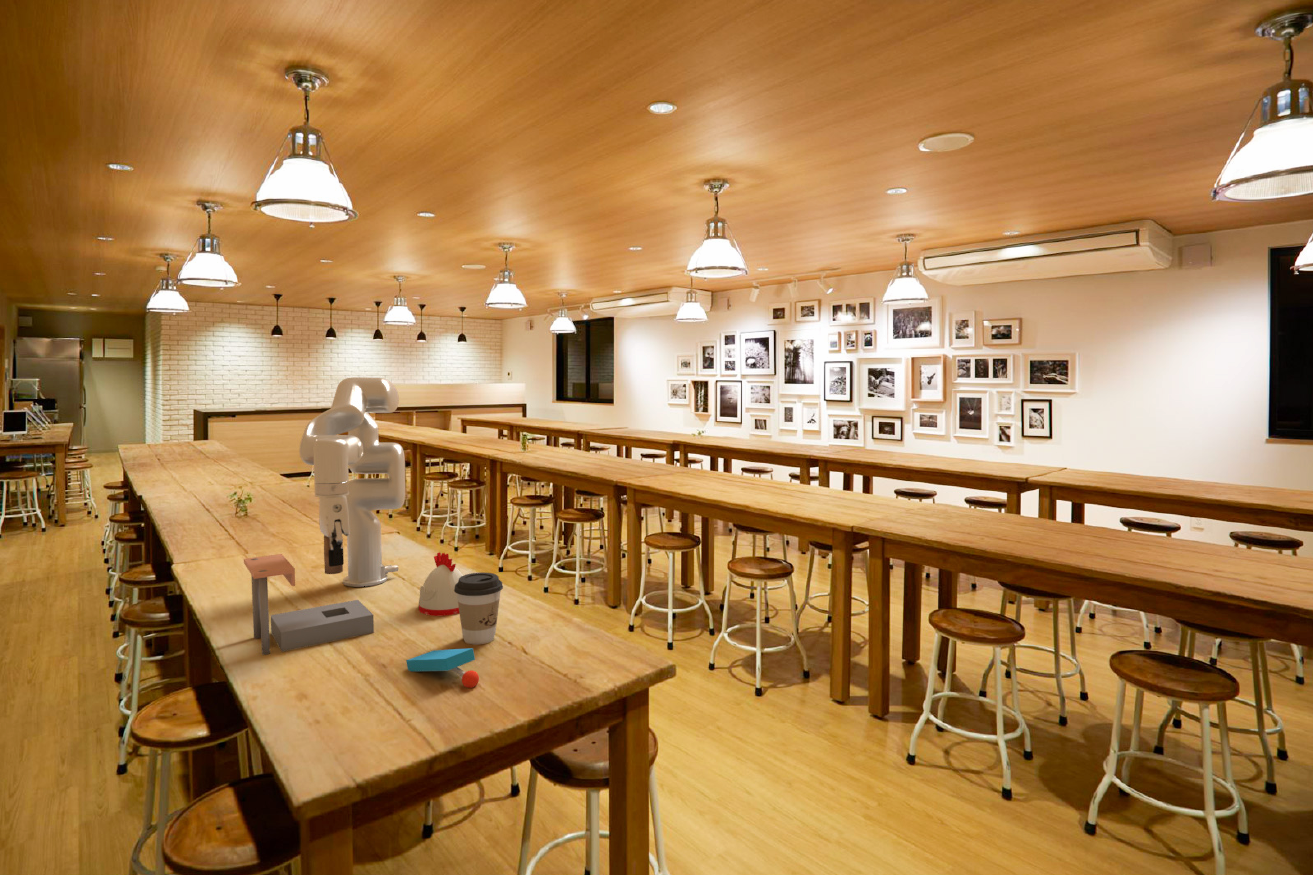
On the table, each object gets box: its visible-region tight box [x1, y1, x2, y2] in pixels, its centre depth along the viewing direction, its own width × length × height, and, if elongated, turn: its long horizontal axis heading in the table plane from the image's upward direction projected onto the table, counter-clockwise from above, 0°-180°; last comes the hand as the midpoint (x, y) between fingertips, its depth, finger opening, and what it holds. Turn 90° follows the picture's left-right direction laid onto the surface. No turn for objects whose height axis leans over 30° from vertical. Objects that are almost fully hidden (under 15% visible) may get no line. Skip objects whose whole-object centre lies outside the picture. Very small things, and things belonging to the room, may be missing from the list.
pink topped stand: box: [243, 553, 296, 656], centre depth 158 cm, size 8×16×19 cm, turn 38°
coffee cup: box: [454, 571, 504, 646], centre depth 163 cm, size 11×11×15 cm
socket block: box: [270, 599, 375, 652], centre depth 166 cm, size 20×14×4 cm
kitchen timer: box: [418, 551, 464, 617], centre depth 185 cm, size 14×14×15 cm
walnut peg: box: [323, 534, 344, 575], centre depth 166 cm, size 4×4×9 cm
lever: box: [405, 647, 480, 689], centre depth 143 cm, size 7×7×18 cm
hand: (333, 562), depth 166 cm, fingers closed on walnut peg, 4 cm apart
